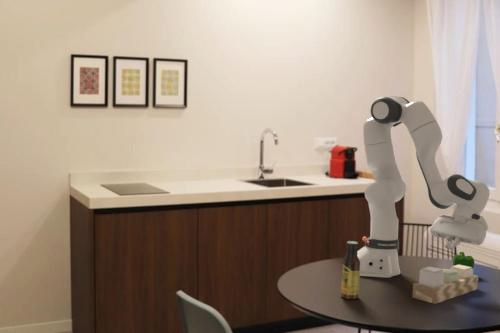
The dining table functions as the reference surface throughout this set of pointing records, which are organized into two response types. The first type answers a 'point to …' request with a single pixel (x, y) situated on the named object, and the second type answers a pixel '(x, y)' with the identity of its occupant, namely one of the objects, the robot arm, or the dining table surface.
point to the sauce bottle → (350, 272)
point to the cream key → (463, 271)
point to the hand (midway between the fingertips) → (448, 248)
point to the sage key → (450, 276)
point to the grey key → (431, 277)
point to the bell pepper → (463, 260)
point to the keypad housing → (445, 290)
